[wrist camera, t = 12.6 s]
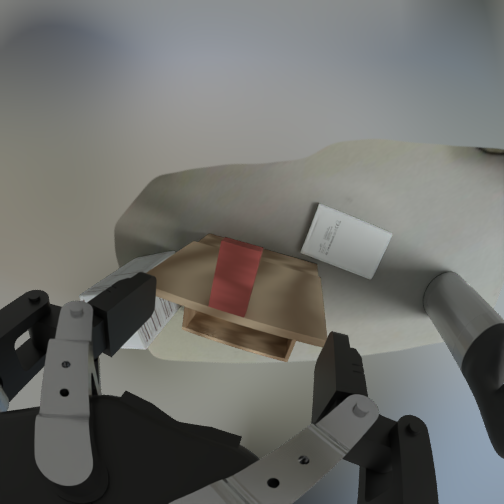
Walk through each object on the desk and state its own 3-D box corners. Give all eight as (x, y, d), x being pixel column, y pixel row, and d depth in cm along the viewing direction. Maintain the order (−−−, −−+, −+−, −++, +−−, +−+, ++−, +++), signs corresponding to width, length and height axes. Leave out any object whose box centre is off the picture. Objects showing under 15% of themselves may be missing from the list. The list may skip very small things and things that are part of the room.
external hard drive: (369, 276, 43) (300, 250, 44) (389, 231, 40) (318, 202, 41) (371, 280, 41) (300, 253, 42) (392, 234, 38) (319, 203, 39)
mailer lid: (318, 282, 37) (334, 234, 35) (324, 347, 22) (353, 278, 20) (192, 246, 38) (201, 198, 36) (134, 288, 24) (140, 218, 22)
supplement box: (149, 300, 52) (100, 348, 36) (134, 257, 50) (76, 295, 34) (191, 296, 50) (146, 351, 34) (176, 249, 47) (120, 291, 32)
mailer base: (317, 264, 43) (318, 282, 37) (290, 337, 48) (287, 362, 42) (209, 233, 45) (193, 246, 39) (196, 309, 50) (182, 329, 44)
